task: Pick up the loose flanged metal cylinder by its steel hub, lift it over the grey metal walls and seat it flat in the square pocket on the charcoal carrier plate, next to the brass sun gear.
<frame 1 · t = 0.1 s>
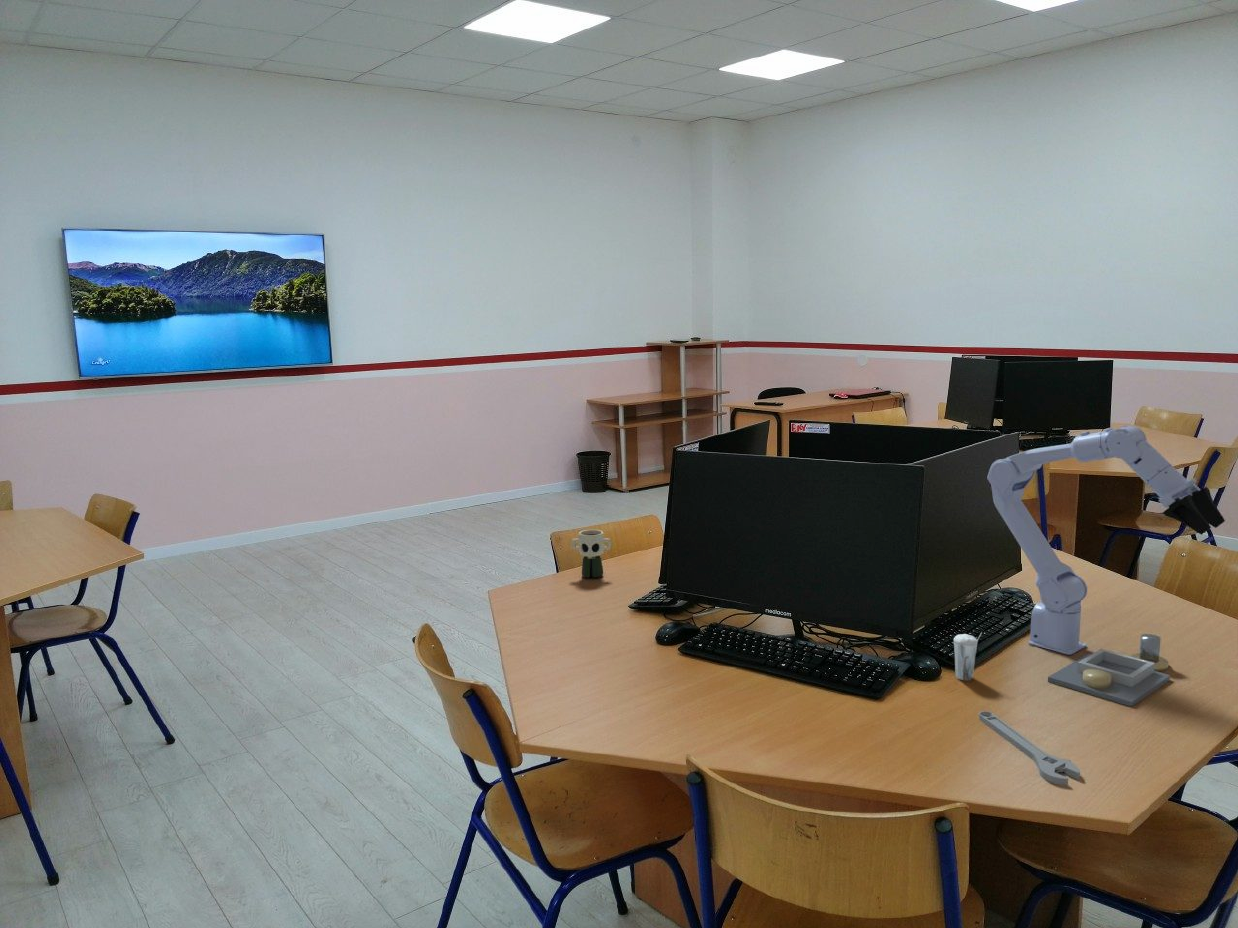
hand: (1213, 527, 178), 32 cm above the table, tool tilted 50°, fingers open, 7 cm apart
carrier: (1108, 680, 186), on the table
adjustable wrench: (1027, 751, 161), on the table
milkshake: (966, 678, 190), on the table
flanged metal cylinder: (1148, 665, 194), on the table
character mug: (592, 576, 267), on the table
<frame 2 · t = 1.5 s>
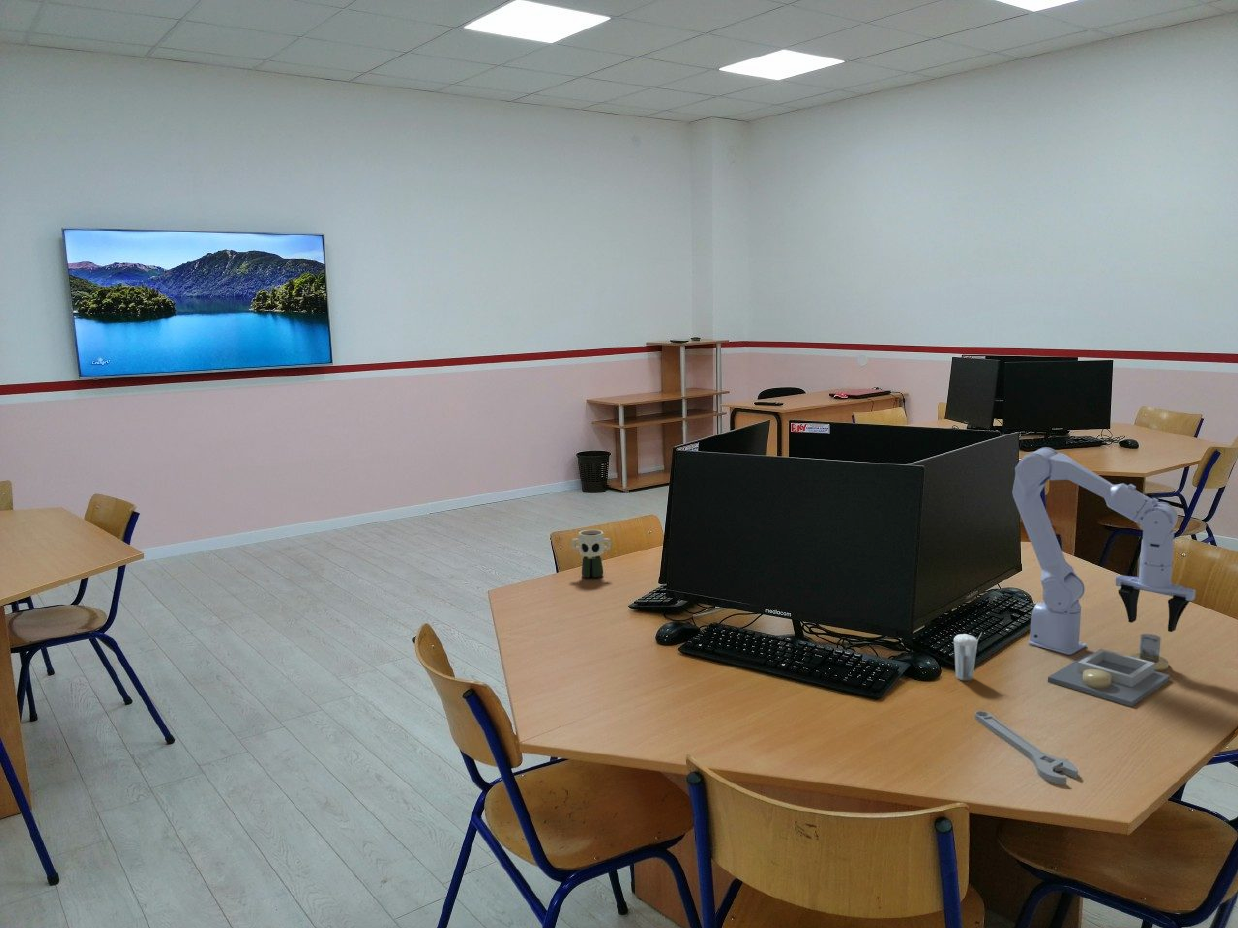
hand: (1151, 625, 192), 9 cm above the table, tool pointing down, fingers open, 7 cm apart
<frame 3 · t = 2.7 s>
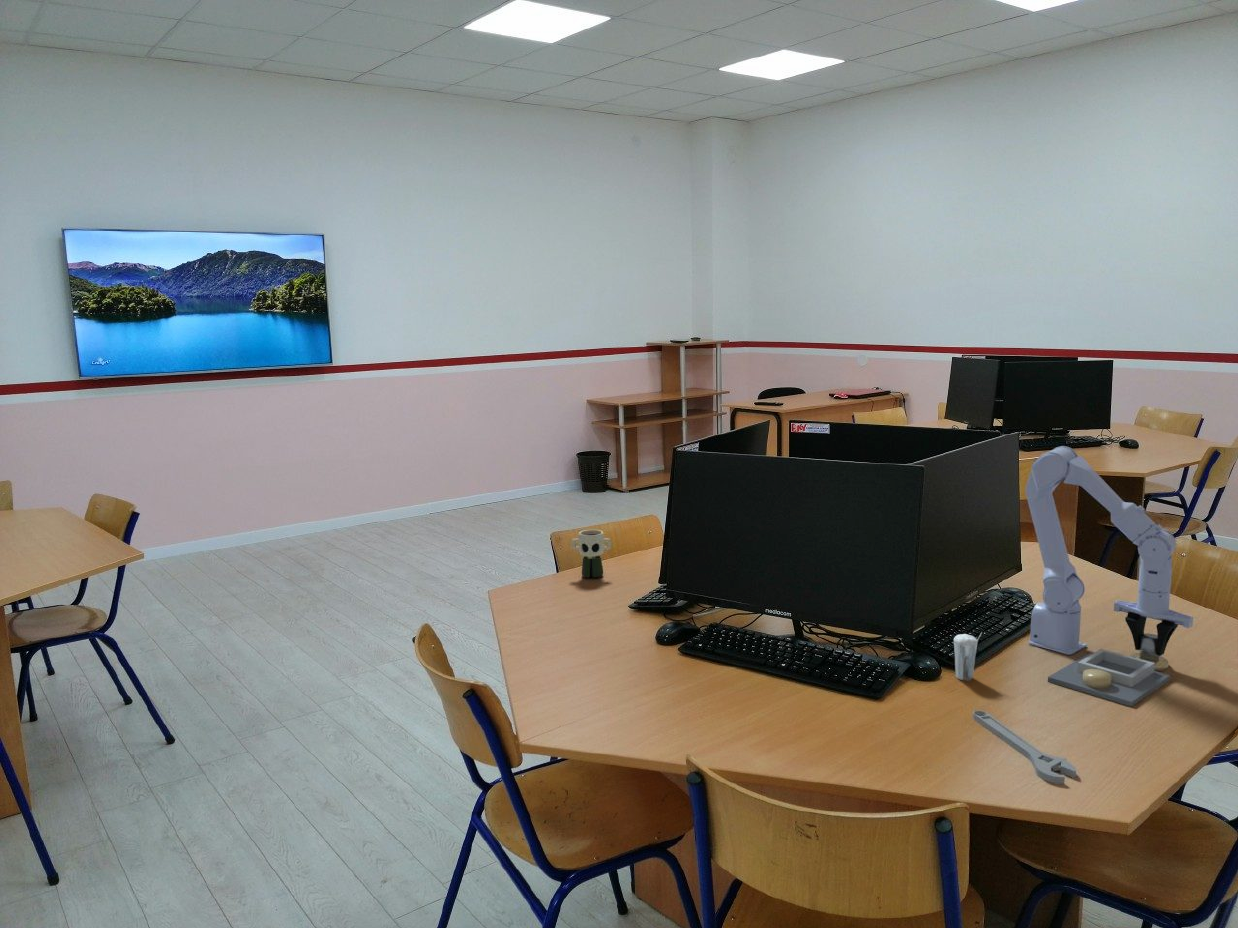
hand: (1149, 651, 193), 3 cm above the table, tool pointing down, fingers closed on flanged metal cylinder, 4 cm apart
flanged metal cylinder: (1148, 664, 194), on the table, touching gripper
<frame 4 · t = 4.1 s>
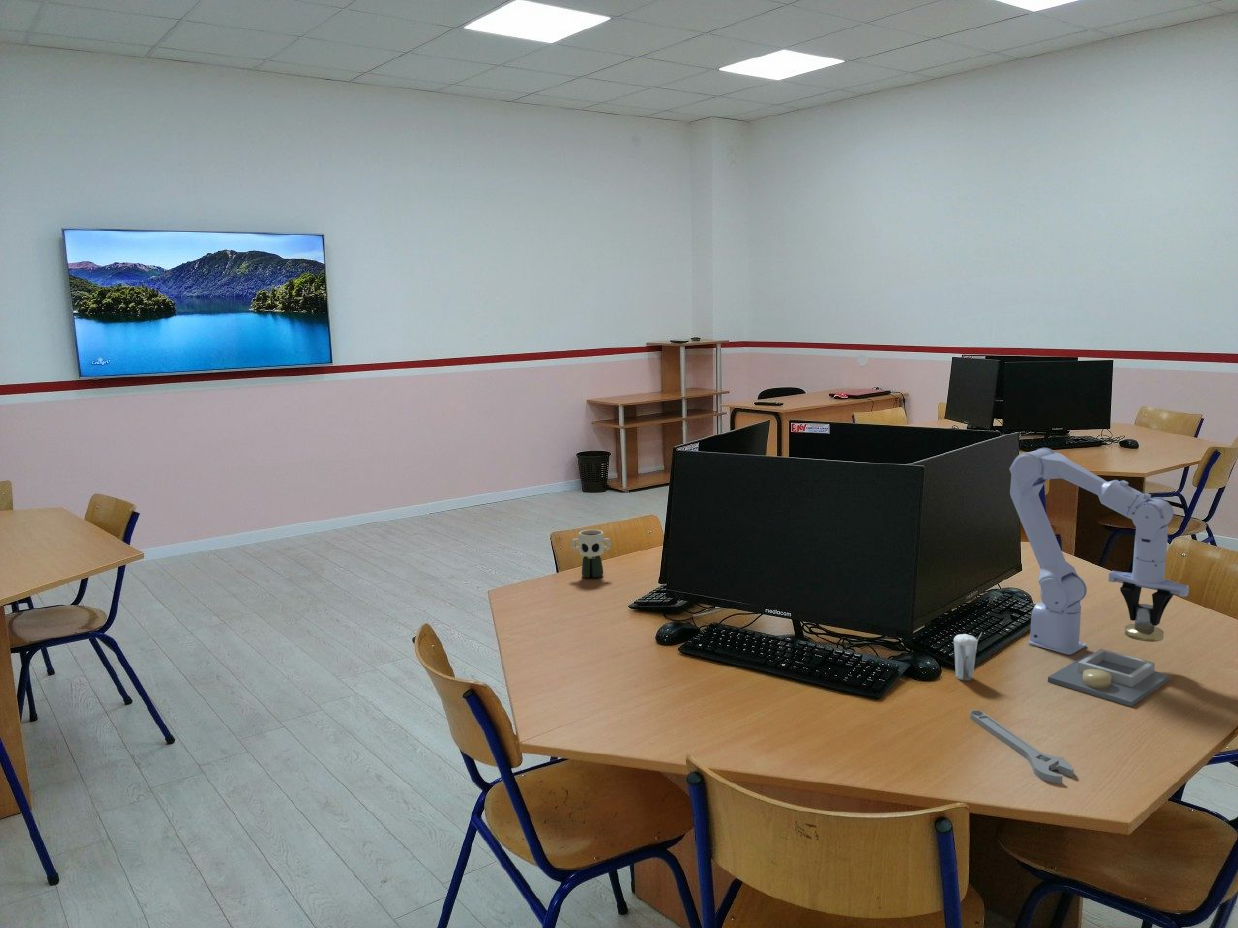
hand: (1144, 621, 191), 10 cm above the table, tool pointing down, fingers closed on flanged metal cylinder, 4 cm apart
flanged metal cylinder: (1143, 635, 191), point 7 cm above the table, touching gripper
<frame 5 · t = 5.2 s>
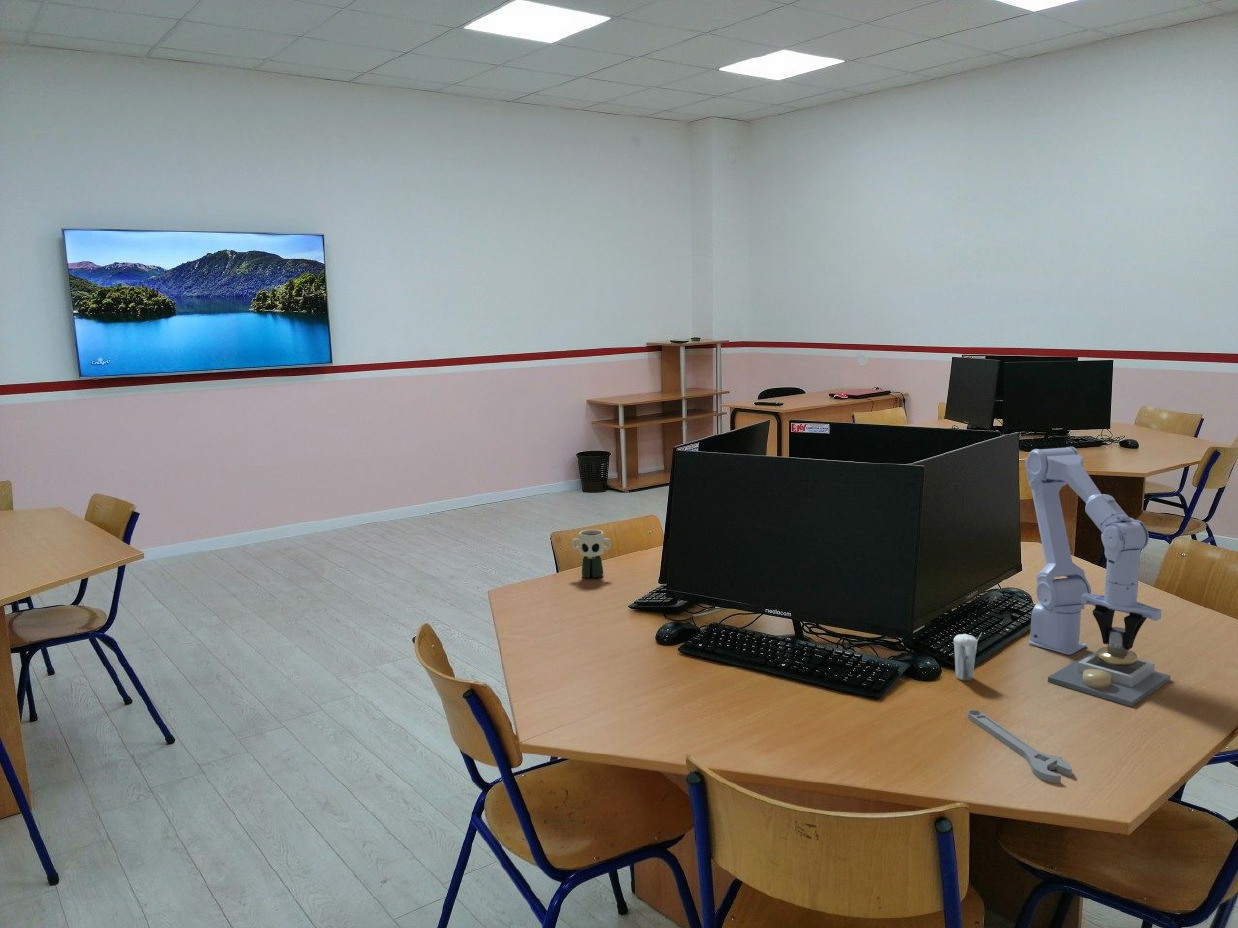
hand: (1117, 645, 187), 7 cm above the table, tool pointing down, fingers closed on flanged metal cylinder, 4 cm apart
flanged metal cylinder: (1117, 659, 188), point 4 cm above the table, touching gripper
when the fingers open (5 cm above the table, at t = 5.8 s): flanged metal cylinder drops 1 cm, resting on carrier.
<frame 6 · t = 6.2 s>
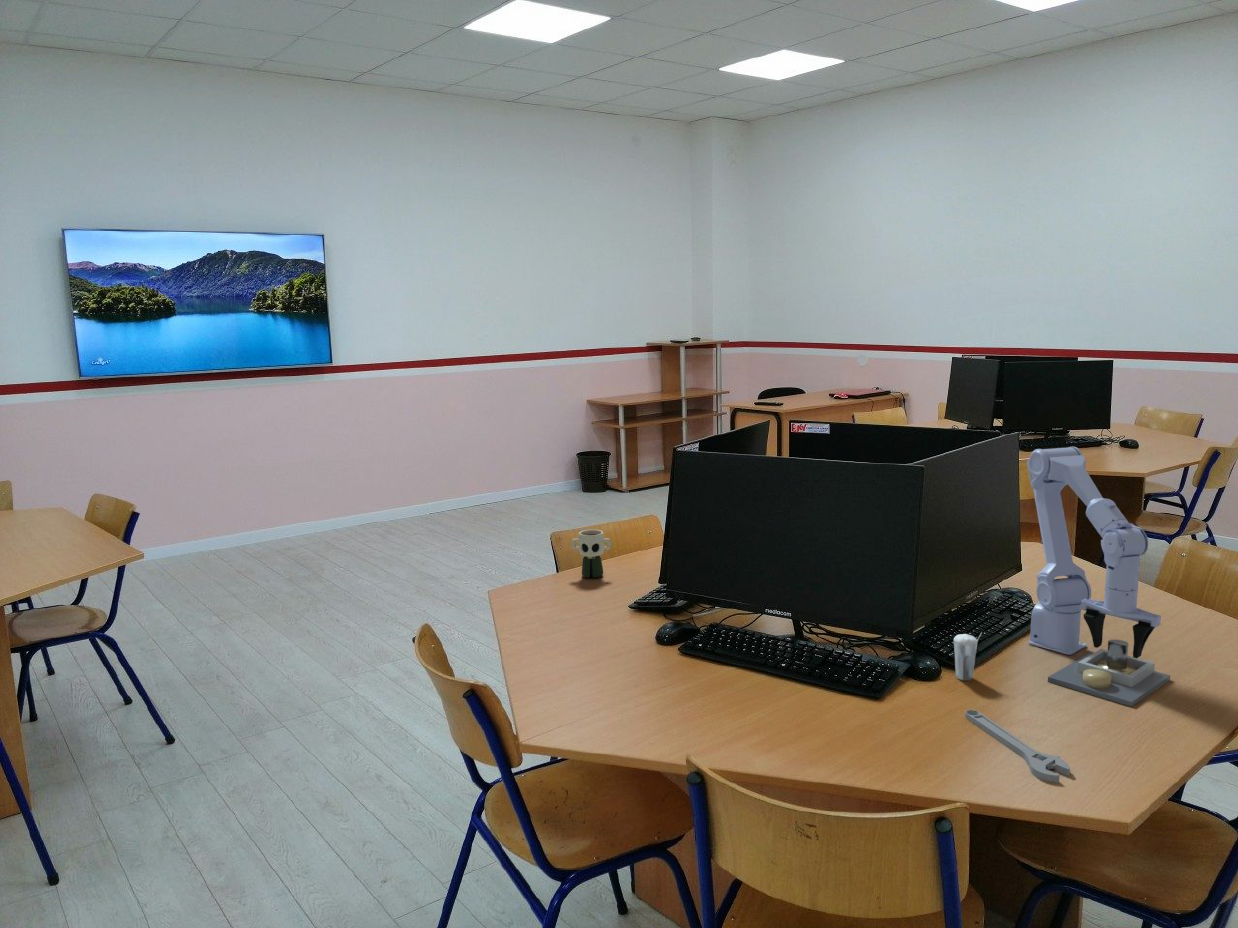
hand: (1117, 651, 187), 5 cm above the table, tool pointing down, fingers open, 7 cm apart
flanged metal cylinder: (1116, 671, 188), point 1 cm above the table, touching carrier
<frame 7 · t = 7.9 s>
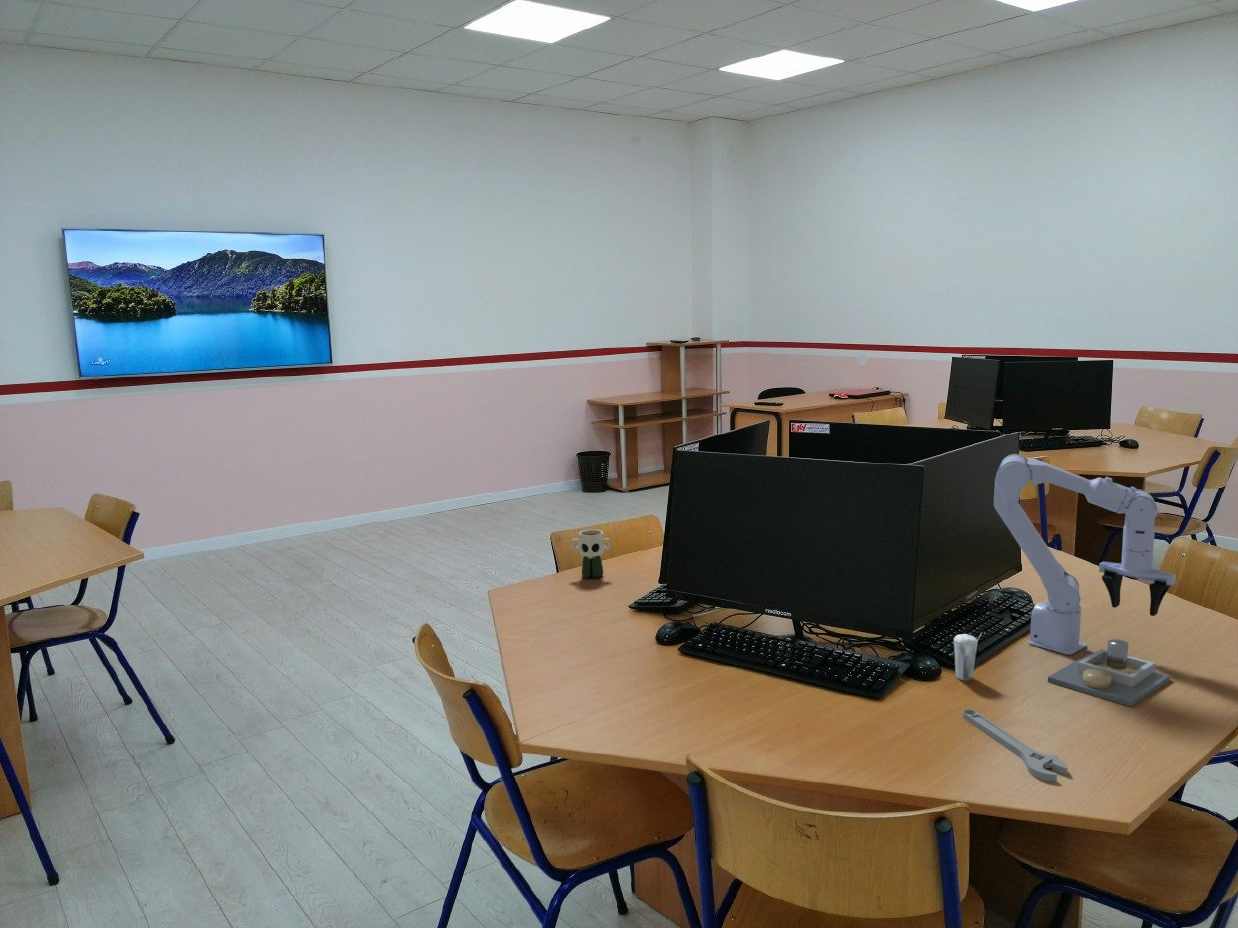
hand: (1134, 610, 197), 10 cm above the table, tool pointing down, fingers open, 7 cm apart
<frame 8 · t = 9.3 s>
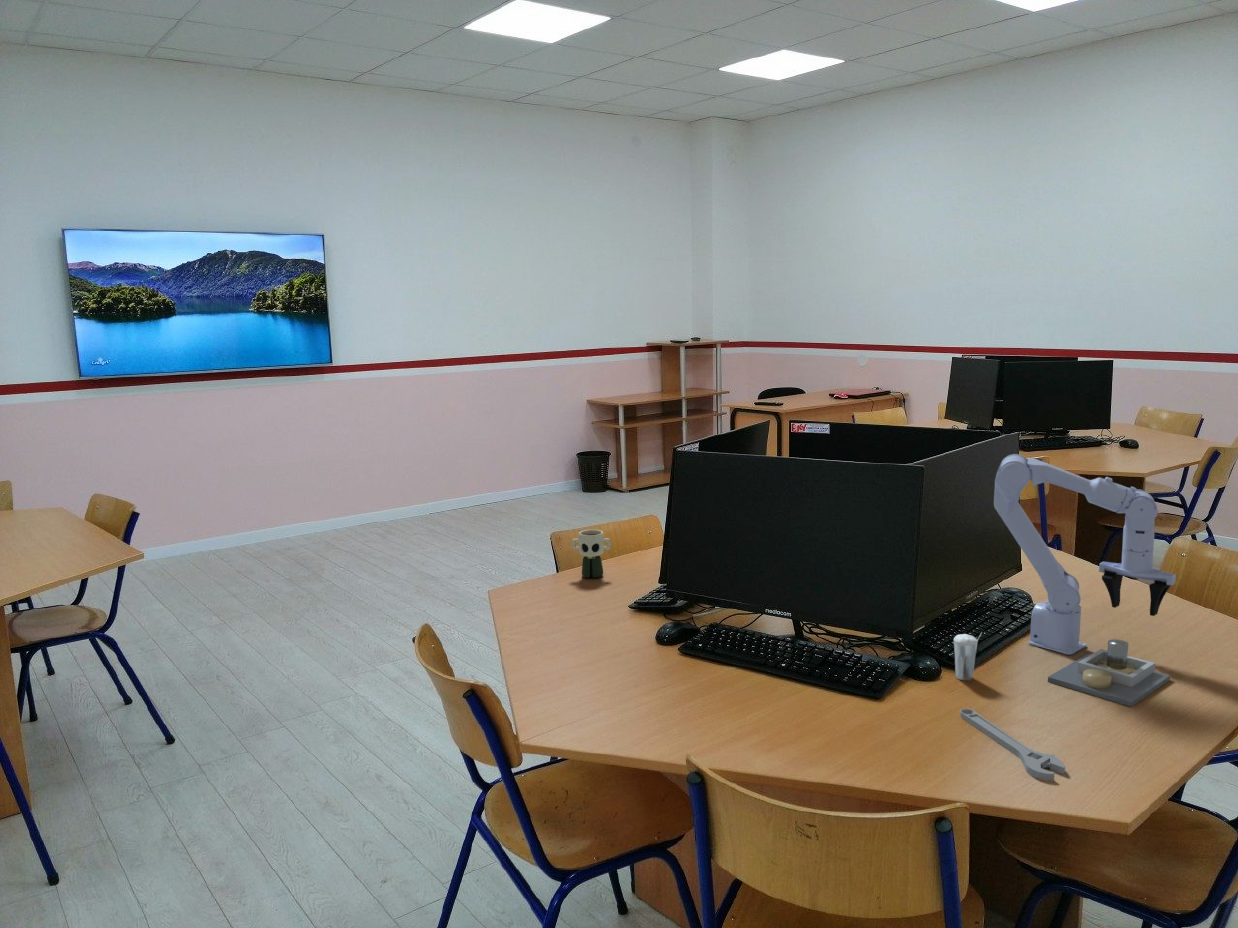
hand: (1134, 610, 197), 10 cm above the table, tool pointing down, fingers open, 7 cm apart
at the end: flanged metal cylinder 0.2 cm from the target spot on the carrier, point 1.0 cm above the carrier's base; flanged metal cylinder tilted 0°; the gripper is holding nothing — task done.
